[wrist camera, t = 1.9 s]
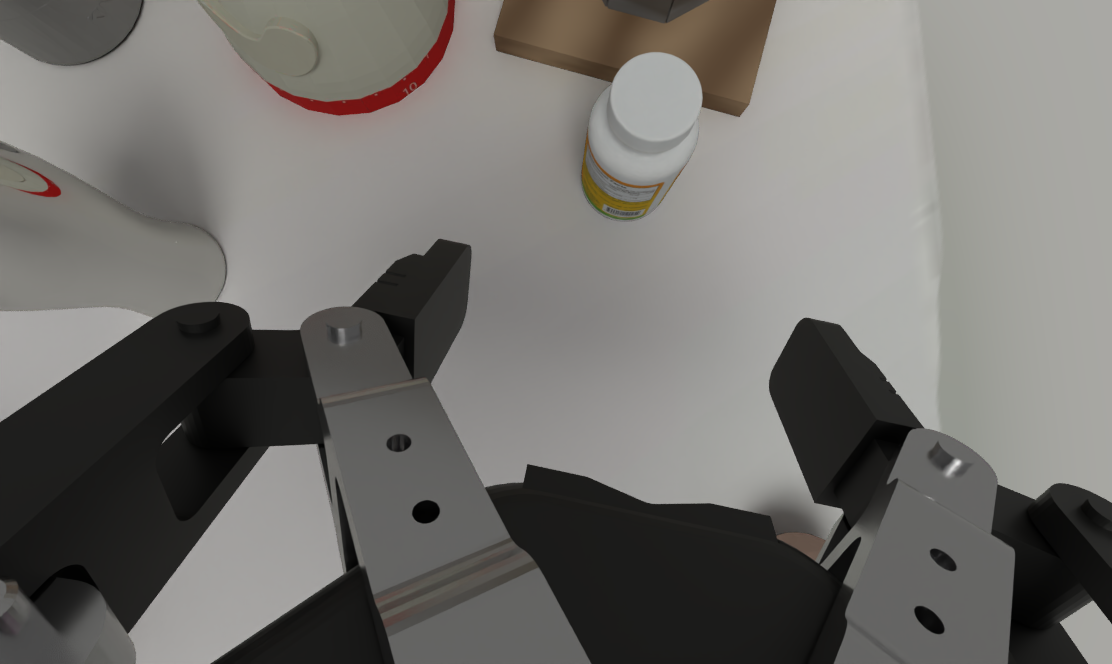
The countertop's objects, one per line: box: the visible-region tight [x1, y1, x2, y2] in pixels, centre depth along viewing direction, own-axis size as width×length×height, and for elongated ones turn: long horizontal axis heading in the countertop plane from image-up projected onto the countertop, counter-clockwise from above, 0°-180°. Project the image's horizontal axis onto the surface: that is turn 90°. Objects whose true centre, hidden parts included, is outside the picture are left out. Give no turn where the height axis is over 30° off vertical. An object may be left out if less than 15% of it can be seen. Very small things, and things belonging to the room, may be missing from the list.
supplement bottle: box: [581, 52, 703, 221], centre depth 25 cm, size 5×5×10 cm
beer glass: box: [0, 141, 226, 318], centre depth 22 cm, size 7×7×15 cm
